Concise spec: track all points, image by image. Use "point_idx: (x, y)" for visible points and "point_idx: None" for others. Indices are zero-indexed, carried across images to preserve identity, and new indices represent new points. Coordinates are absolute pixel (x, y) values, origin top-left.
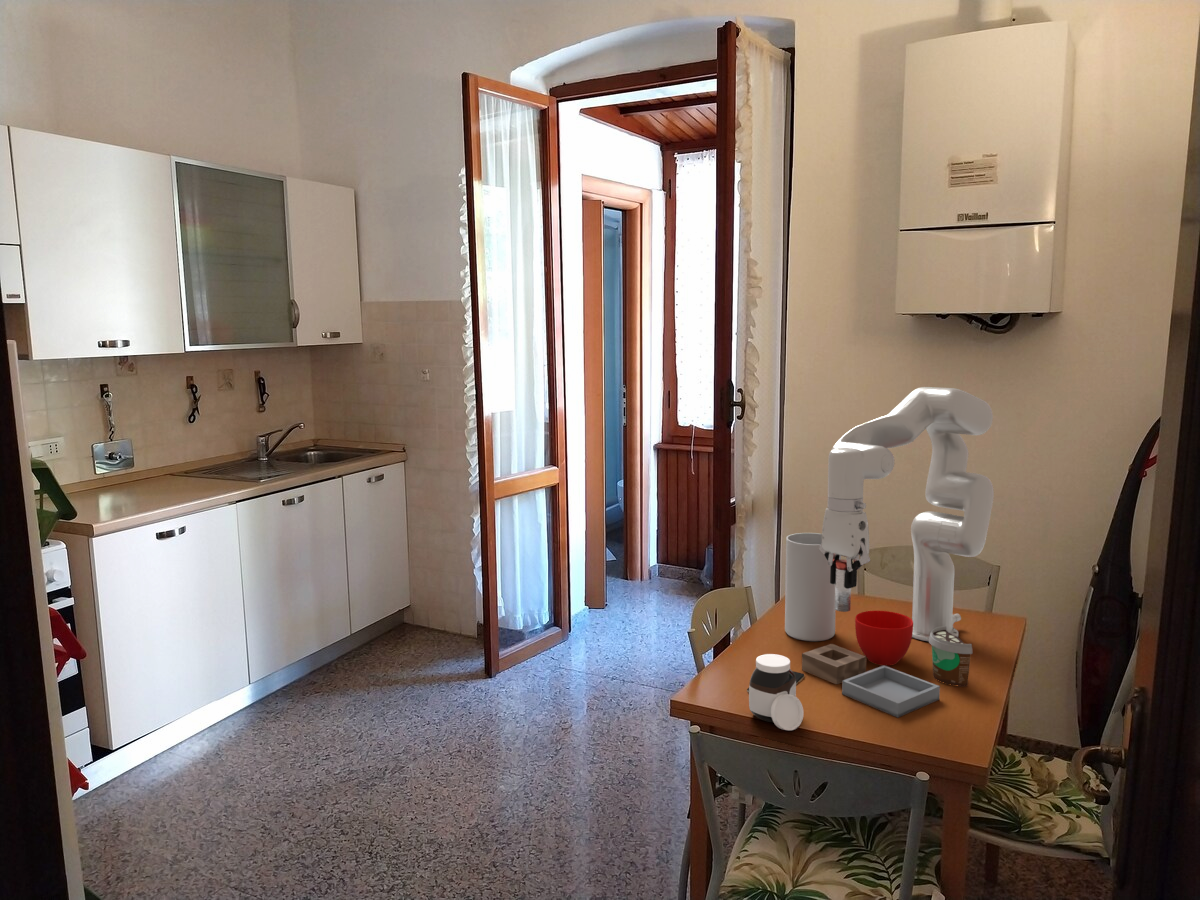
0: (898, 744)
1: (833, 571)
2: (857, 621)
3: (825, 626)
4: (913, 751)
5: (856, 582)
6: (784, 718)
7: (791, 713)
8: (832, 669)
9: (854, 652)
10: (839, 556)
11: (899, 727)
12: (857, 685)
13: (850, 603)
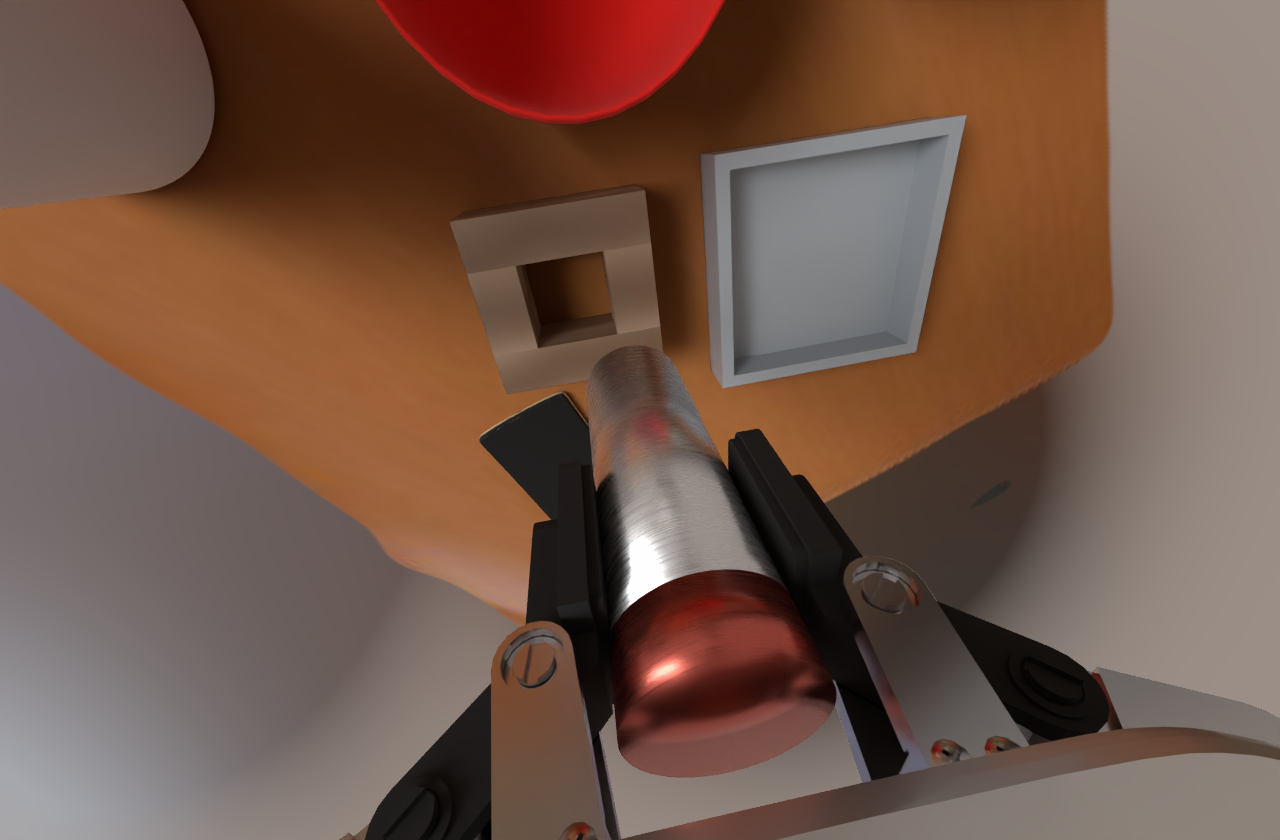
0: (947, 420)
1: None
2: (494, 106)
3: (150, 34)
4: (982, 414)
5: (802, 477)
6: None
7: None
8: None
9: (583, 202)
10: (595, 774)
11: (916, 368)
12: (772, 371)
13: (682, 381)
